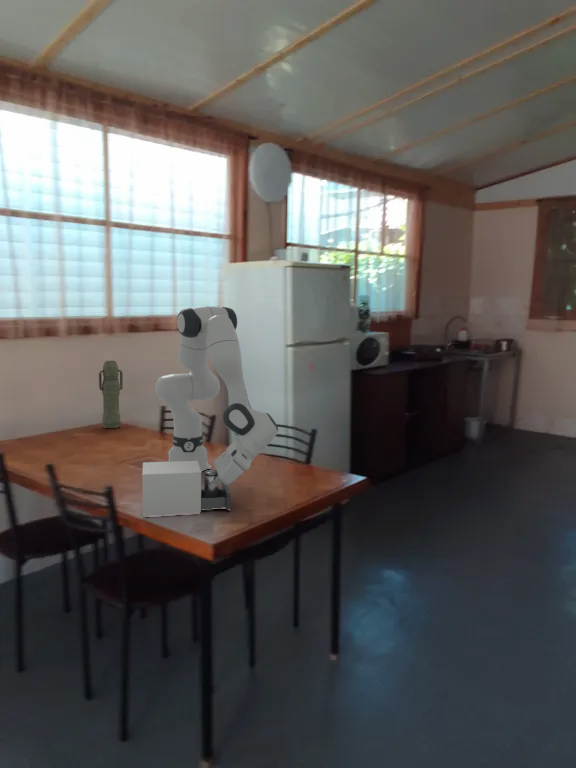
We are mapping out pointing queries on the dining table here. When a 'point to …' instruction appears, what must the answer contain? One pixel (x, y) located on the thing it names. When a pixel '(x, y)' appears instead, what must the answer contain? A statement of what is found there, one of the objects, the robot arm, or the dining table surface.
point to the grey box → (171, 487)
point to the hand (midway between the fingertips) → (209, 484)
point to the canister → (208, 477)
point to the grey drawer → (217, 499)
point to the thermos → (111, 394)
